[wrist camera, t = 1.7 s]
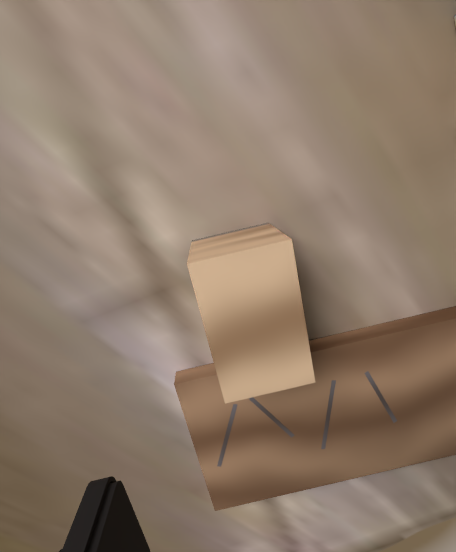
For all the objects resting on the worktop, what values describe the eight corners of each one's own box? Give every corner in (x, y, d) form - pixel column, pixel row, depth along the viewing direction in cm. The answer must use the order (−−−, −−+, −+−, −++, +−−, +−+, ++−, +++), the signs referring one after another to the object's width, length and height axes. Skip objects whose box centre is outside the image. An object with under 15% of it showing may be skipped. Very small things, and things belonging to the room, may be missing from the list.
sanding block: (192, 240, 21) (187, 263, 15) (267, 222, 21) (291, 239, 15) (220, 347, 23) (225, 403, 17) (288, 331, 23) (315, 382, 17)
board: (176, 371, 23) (174, 384, 22) (472, 302, 23) (491, 310, 22) (214, 493, 27) (215, 511, 25) (472, 432, 27) (487, 447, 25)
